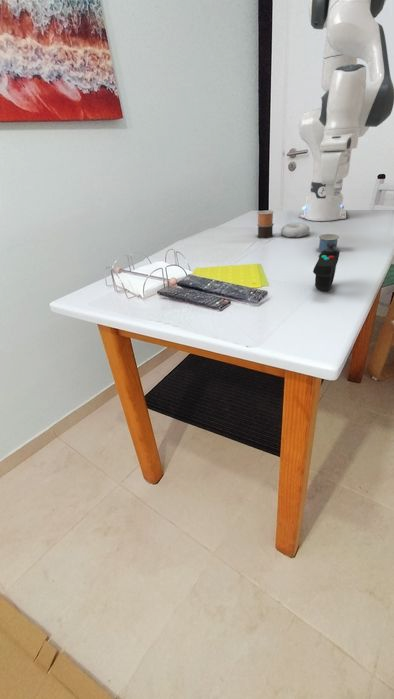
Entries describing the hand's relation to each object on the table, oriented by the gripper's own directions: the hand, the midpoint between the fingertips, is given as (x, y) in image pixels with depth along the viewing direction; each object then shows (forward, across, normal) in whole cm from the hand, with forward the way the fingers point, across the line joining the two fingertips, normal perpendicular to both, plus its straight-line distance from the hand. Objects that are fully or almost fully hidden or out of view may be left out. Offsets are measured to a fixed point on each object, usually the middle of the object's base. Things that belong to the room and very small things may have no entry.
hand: (332, 197), depth 97 cm
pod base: (+15, -12, -25) cm, 32 cm away
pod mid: (+11, -12, -25) cm, 30 cm away
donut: (+15, -16, -15) cm, 27 cm away
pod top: (+15, 0, 0) cm, 15 cm away
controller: (+16, +32, +6) cm, 36 cm away
